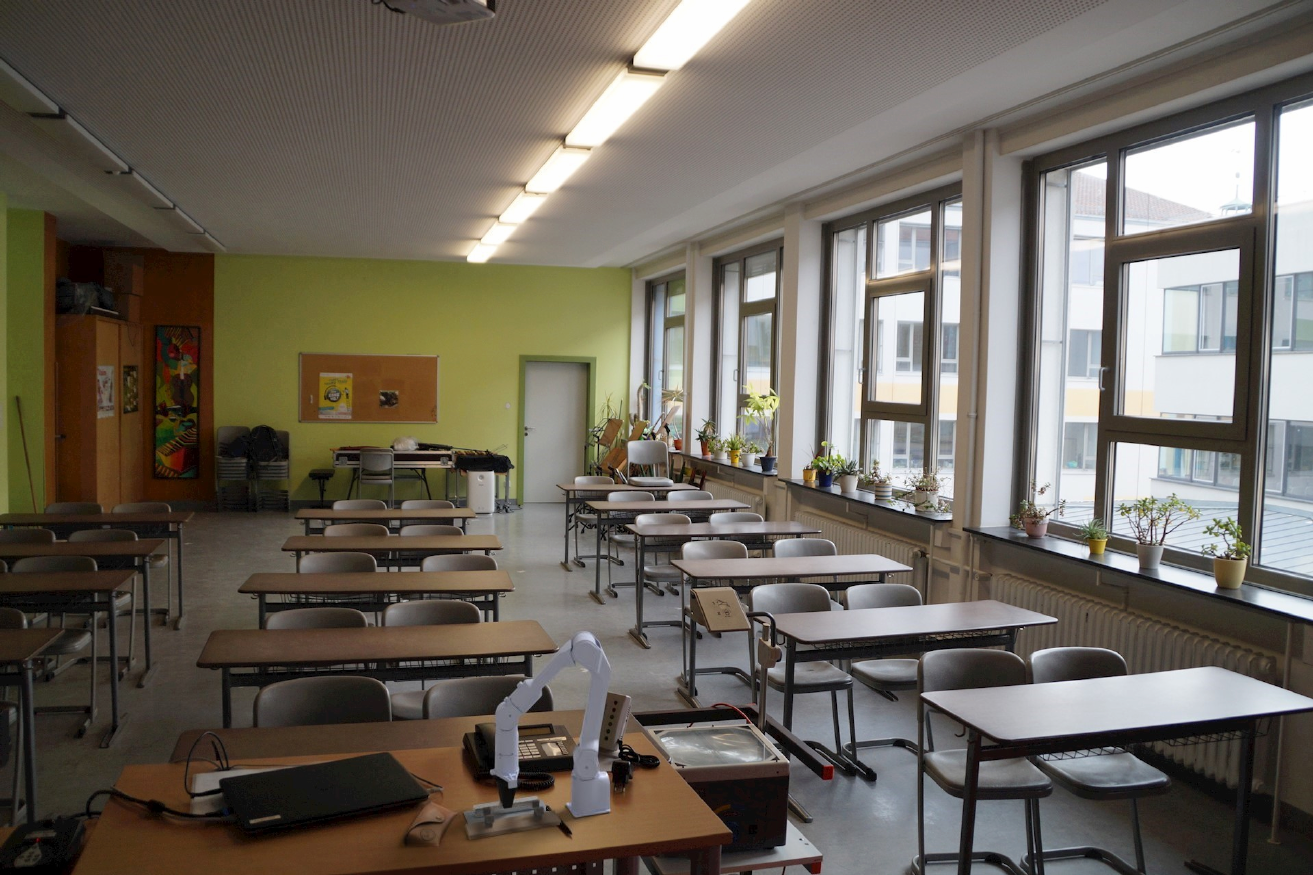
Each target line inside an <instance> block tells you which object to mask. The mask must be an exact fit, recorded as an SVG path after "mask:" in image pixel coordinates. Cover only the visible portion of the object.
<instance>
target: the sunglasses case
mask: <svg viewBox="0 0 1313 875" xmlns="http://www.w3.org/2000/svg"><path fill="white" fill-rule="evenodd" d="M458 814H459V813H458V812H456V811H453V810H450V809H449V808H446V807H444V806H441V805H439V804H436V803H435V802H433V801H432V800H431V799H430V800H428V802H427V803H426V804H425V806H424V807H423V808H422V809H421V811H420V812H419V814H418V815H417V816H416V818H415V820H414V821H412V824H411V825H410V827H409V829H408V830H407V832H406V833H405V835H404V837H403V843H404V846H405V847H439V846H440V844H441V842H442V839H443V837H444V835H445V834H446V831H447V830H448V828H449V826H450V825H451V823H452V821H453V820H454V819H455V818H456V817H457V816H458Z"/></svg>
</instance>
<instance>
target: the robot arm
mask: <svg viewBox="0 0 1313 875" xmlns="http://www.w3.org/2000/svg"><path fill="white" fill-rule="evenodd" d="M576 663H577V664H578V665H580V666H582V667H583V668H585V669H586V670H587V671H588V672H589V673H590V674H591V676H590V682H589V688H588V692H587V697H586V698H587V699H586V704H585V710H584V714H583V721H582V726H581V727H582V728H581V731H580V732H581V733H580V735H579V738H578V743H577V744H576V745H575V746H574V749H573V750H572V758H573V769H572V770H571V774H570V776H571V782H570V783H571V784H570V787H571V788H570V795H571V796H570V802H566V803H565V806H566V807H567V809H568V811H570V814H571V815H572V816H573V818H580V817H588V816H594V815H601V814H605V813H611V811H612V810H611V808H610V806H611V783H610V776H609V775H608V774H609V773H607V771H606V770H604V771H600V763H599V758H598V755H599V744H600V735H601V729H602V725H603V724H602V723H603V719H604V712H605V708H606V701H607V696H608V691H609V686H610V679H611V674H612V669H611V665H610V663H609V661H608V658H607V656H606V654H605V651H604V649H603V647H602V645H601V642H600V640H598V639H597V637H596V636H595V635H594V634H593V633H591V632H589V631H587V630H585V631H581V630H580V631H578V632H577V633H575V634H574V635H573V637H572V639H570V638H569V640H567V641H566V642H565V643H564V644H563V645H562V646H561V648H560V649H559V650H558V651H557V652H556V653H555V654H554V655H553V656H552V657H551V658H550V659H549V661H548V662H547V663H546V664H545V665H544V666H543V667H542V668H541V670H540V671H539V672H538V673H537V674H536V676H534V677H533V678H531V679H530V678H528V679H524V680H523V682H522V681H519V682H518V683H517V685H516V687H517V688H515V689H514V691H513V692H512V693H511V694H510V695H509V696H506V697H505V698H504V699H503V701H502V702H500V703H499V704H498V705H497V707H496V710H495V714H494V722H495V723H494V724H495V734H494V736H495V737H494V739H495V740H494V746H495V747H494V748H495V749H494V768H493V769H490V771H489V772H490V773H489V774H490V775H491V776H492V777H493V779H494V780H495V783H496V786H497V790H498V796H499V801H502V805H503V808H504V809H507V808H512V805H513V801H514V799H515V796H516V793H517V790H518V788H519V787H520V786H521V780H520V779H519V778H518V776H519V773H520V767H519V731H518V724H519V722H520V717H521V716H524V715H525V714H526V713H527V712H528V711H529V709H531V708H532V706H534V704H536V702H537V701H538V700H539V699H540V698H541V697H542V696H543V690H542V689H543V688H544V687H545V686H546V685H547V684H548V683H549V682H550V681H551V680H552V679H554V678H555V677H556V676H557V675H558V674H559V673H560V672H561V671H562V670H563V669H565V668H569V667H570V668H571V667H573V668H574V667H576Z"/></svg>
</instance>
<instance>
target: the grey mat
mask: <svg viewBox="0 0 1313 875" xmlns="http://www.w3.org/2000/svg"><path fill="white" fill-rule="evenodd" d="M539 801H540V803H539V807H541V806H543V807H544V812H547V811H546V807H547V806H546V804H545V802H544V801H543V799H539ZM535 809H536V808H535ZM463 814H464V818H465V820H466V824H470V823H477V822H483V821H485V817H487V816H483V817H477V818H475V817H474V815H473V809H472V810H466V811H463ZM528 814H534V809H529V810H522V811H516V812H509V813H503V814H496V815H494V820H496V819H502V818H509V817H515V816H521V815H528Z"/></svg>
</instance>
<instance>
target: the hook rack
mask: <svg viewBox="0 0 1313 875" xmlns="http://www.w3.org/2000/svg"><path fill="white" fill-rule="evenodd" d="M539 800H540V799H539V798H538V799H536V800H532V807H533V808H536V809H534V814H528V815H521V816H515V817H509V818H502V819H496V820H494V814H491V808H490V807H483V815H484V816H486V815H487V817H485V821H483V822H477V823H470V824H468V823H465V824H464V825H465V826H464V829H465V831H466V834H467V836H468V838H469V840H475V839H481V838H488V837H494V836H499V835H500V836H501V835H506V834H511V833H512V834H514V833H519V832H526V831H529V830H530V831H531V830H538V829H543V828H548V827H549V828H550V827H555V826H561V825H560V823H561V824H562V820H561V818H560V816H559V814H557V812H556V810H555V809H554V810H549V811H547V812H544V807H543V806H541V807H539V803H540V801H539Z"/></svg>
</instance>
